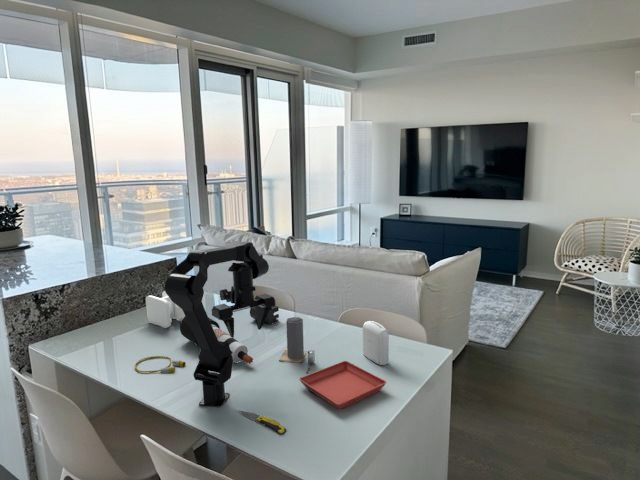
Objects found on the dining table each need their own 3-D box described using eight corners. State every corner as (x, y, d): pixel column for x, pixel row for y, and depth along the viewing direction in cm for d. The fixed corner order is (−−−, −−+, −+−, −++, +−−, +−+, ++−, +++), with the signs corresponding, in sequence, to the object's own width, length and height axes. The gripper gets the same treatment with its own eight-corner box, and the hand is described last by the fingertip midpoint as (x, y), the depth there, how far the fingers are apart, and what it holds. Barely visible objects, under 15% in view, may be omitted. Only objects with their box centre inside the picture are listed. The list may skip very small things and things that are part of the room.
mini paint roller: (310, 373, 135) (310, 361, 134) (303, 373, 135) (303, 360, 134) (315, 362, 142) (315, 350, 141) (308, 361, 142) (308, 350, 142)
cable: (244, 382, 139) (233, 362, 134) (187, 343, 161) (175, 324, 155) (266, 359, 145) (256, 339, 139) (208, 324, 166) (197, 305, 161)
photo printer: (360, 354, 147) (360, 319, 144) (371, 351, 149) (371, 316, 146) (379, 367, 138) (379, 329, 136) (390, 363, 140) (391, 326, 138)
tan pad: (301, 362, 142) (301, 361, 142) (278, 361, 143) (278, 360, 143) (306, 352, 149) (306, 351, 149) (284, 351, 150) (284, 350, 150)
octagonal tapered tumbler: (301, 359, 143) (300, 323, 141) (286, 358, 144) (285, 322, 141) (304, 353, 148) (303, 317, 146) (289, 352, 149) (288, 317, 146)
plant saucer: (298, 388, 127) (297, 377, 126) (345, 369, 138) (345, 359, 137) (338, 416, 113) (338, 404, 112) (388, 392, 124) (388, 382, 123)
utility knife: (232, 411, 114) (241, 406, 116) (233, 415, 114) (241, 410, 117) (281, 432, 105) (289, 426, 107) (281, 437, 105) (289, 430, 108)
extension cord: (153, 383, 132) (152, 376, 132) (127, 367, 142) (127, 361, 142) (188, 367, 141) (188, 362, 141) (162, 354, 151) (161, 348, 151)
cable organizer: (146, 322, 180) (143, 295, 178) (168, 314, 188) (166, 288, 186) (167, 330, 171) (165, 301, 169) (190, 322, 179) (188, 294, 177)
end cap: (249, 321, 179) (248, 305, 178) (262, 316, 184) (261, 300, 183) (267, 326, 173) (266, 310, 172) (279, 321, 178) (279, 305, 177)
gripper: (256, 272, 142) (258, 318, 145) (201, 283, 131) (205, 333, 134) (275, 279, 134) (277, 328, 136) (218, 292, 122) (222, 345, 125)
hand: (245, 333), depth 133 cm, fingers open, 9 cm apart
